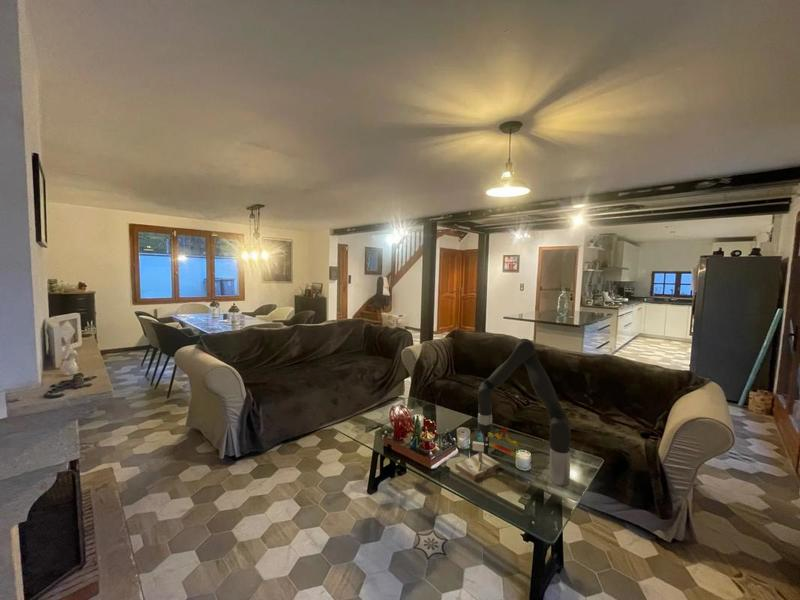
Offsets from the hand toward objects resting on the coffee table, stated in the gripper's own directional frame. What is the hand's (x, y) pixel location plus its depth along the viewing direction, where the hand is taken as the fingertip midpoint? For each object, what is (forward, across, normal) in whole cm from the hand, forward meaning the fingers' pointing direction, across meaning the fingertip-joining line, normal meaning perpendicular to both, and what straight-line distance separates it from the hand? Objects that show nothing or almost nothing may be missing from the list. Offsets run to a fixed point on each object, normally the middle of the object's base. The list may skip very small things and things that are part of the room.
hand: (484, 449), depth 190 cm
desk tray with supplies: (+10, +1, -4) cm, 11 cm away
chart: (+11, -18, +11) cm, 24 cm away
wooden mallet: (+7, +4, -3) cm, 9 cm away
